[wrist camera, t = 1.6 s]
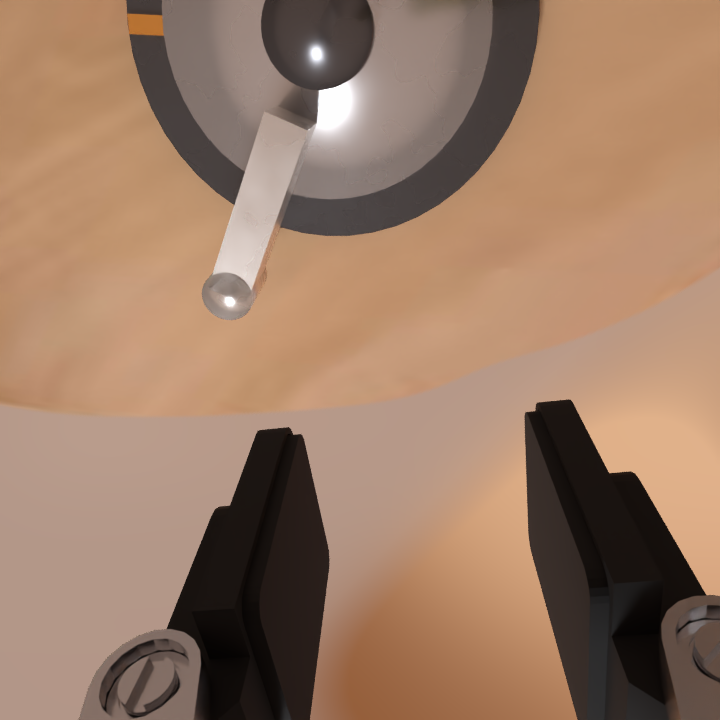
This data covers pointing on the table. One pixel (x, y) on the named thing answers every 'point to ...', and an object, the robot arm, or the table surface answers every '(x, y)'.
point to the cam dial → (318, 104)
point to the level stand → (381, 208)
